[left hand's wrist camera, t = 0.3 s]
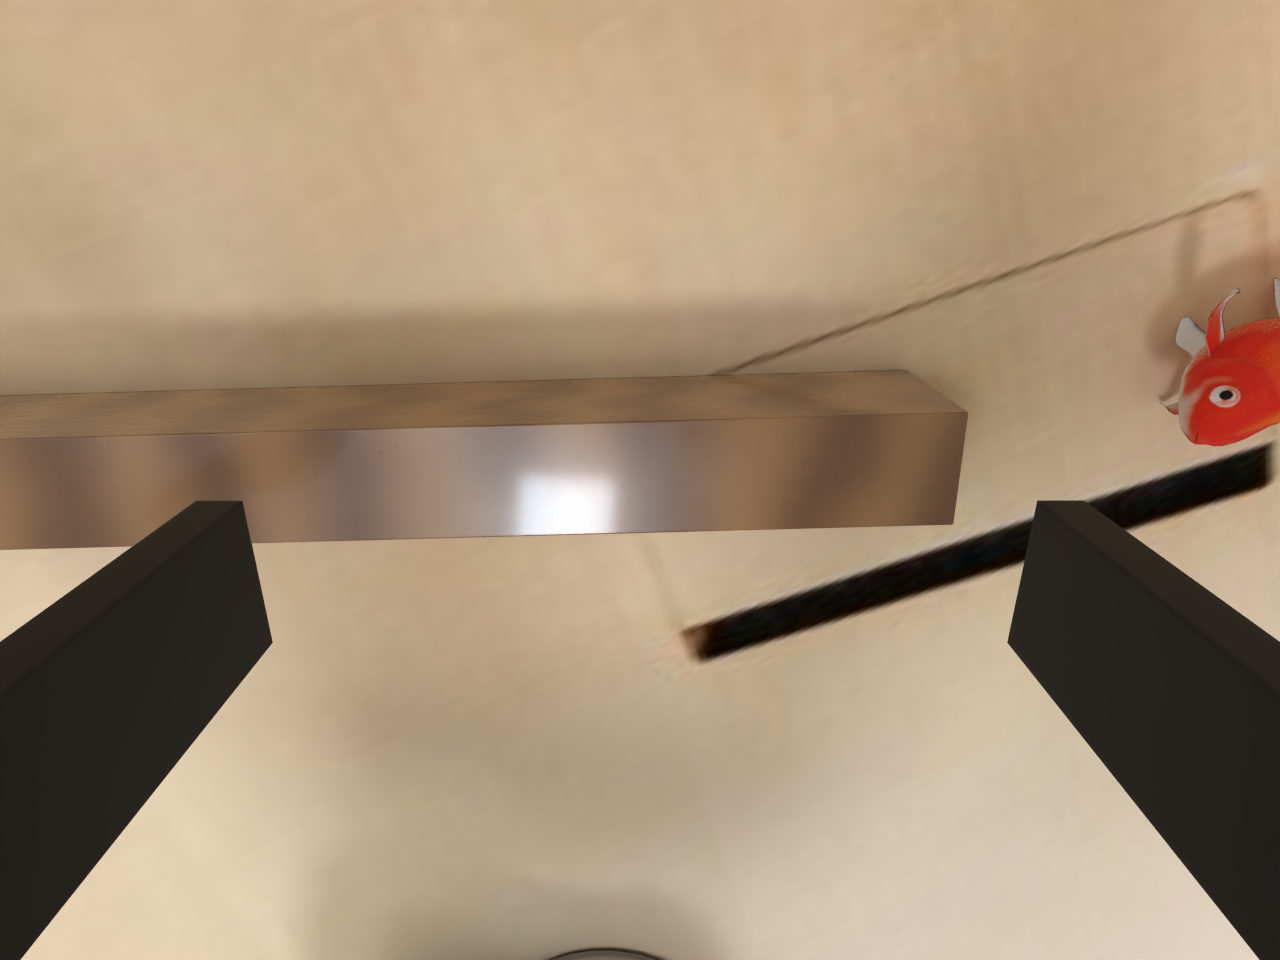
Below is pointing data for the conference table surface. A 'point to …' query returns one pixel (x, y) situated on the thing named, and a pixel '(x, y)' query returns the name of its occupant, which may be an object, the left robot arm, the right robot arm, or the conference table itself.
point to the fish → (1229, 378)
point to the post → (484, 458)
